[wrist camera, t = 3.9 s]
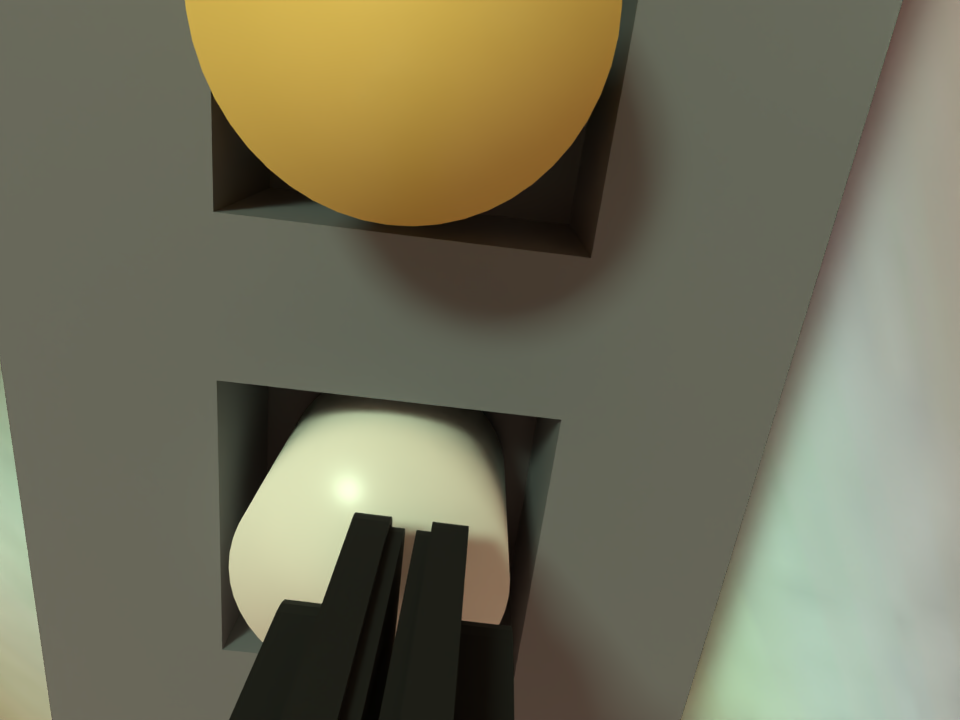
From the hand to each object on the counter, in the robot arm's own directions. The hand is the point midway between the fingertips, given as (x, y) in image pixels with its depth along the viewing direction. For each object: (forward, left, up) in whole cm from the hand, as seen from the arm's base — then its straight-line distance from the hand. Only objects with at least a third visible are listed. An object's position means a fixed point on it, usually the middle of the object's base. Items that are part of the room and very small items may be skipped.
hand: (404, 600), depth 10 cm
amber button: (+1, -8, -3) cm, 8 cm away
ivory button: (+1, 0, -4) cm, 4 cm away
